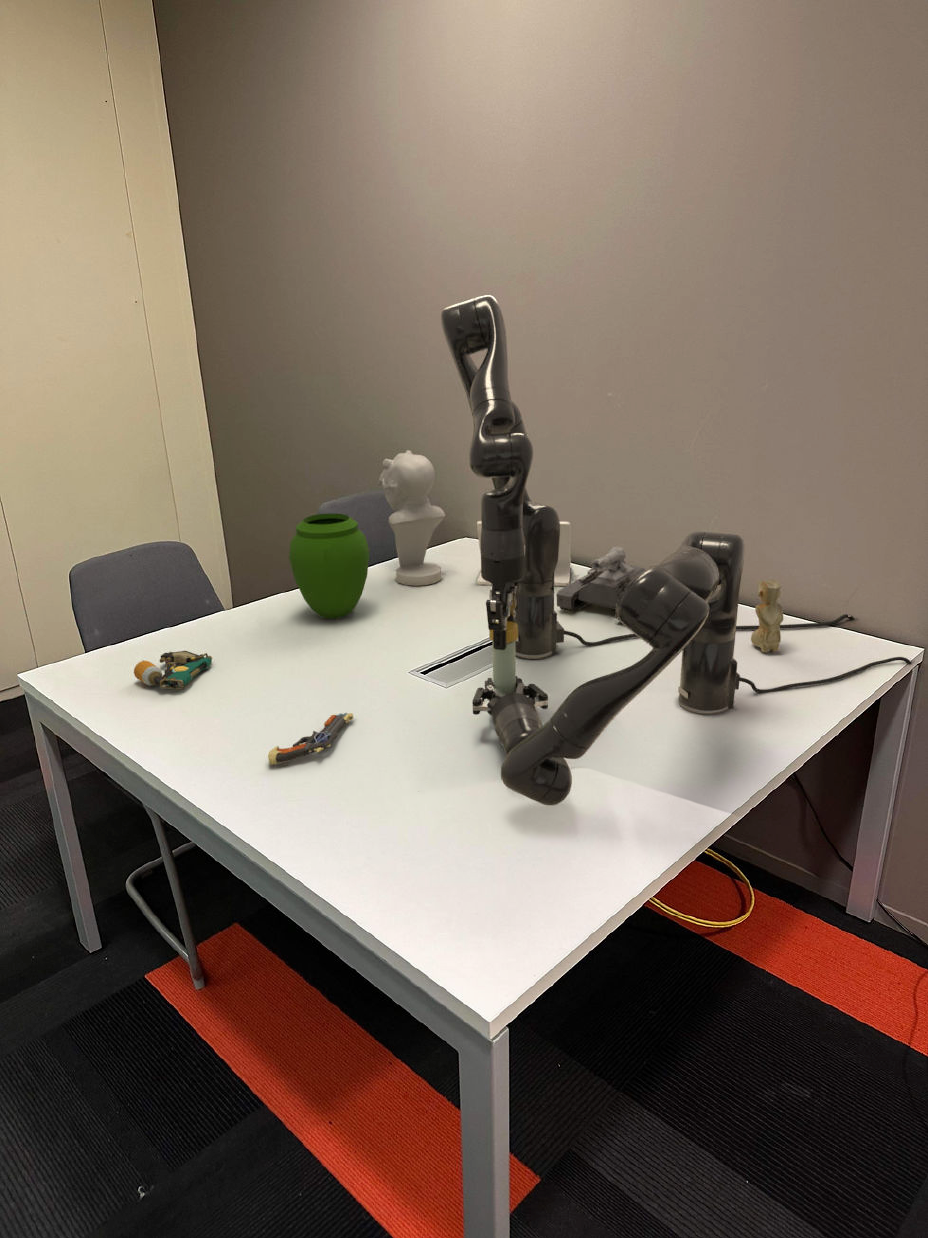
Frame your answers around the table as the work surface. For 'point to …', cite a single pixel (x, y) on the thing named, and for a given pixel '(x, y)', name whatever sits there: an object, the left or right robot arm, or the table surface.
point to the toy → (599, 583)
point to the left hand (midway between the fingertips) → (504, 642)
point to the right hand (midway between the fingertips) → (502, 681)
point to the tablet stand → (563, 559)
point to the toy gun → (312, 740)
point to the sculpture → (768, 617)
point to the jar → (505, 668)
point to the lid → (508, 632)
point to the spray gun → (172, 669)
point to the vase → (329, 563)
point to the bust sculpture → (412, 515)
